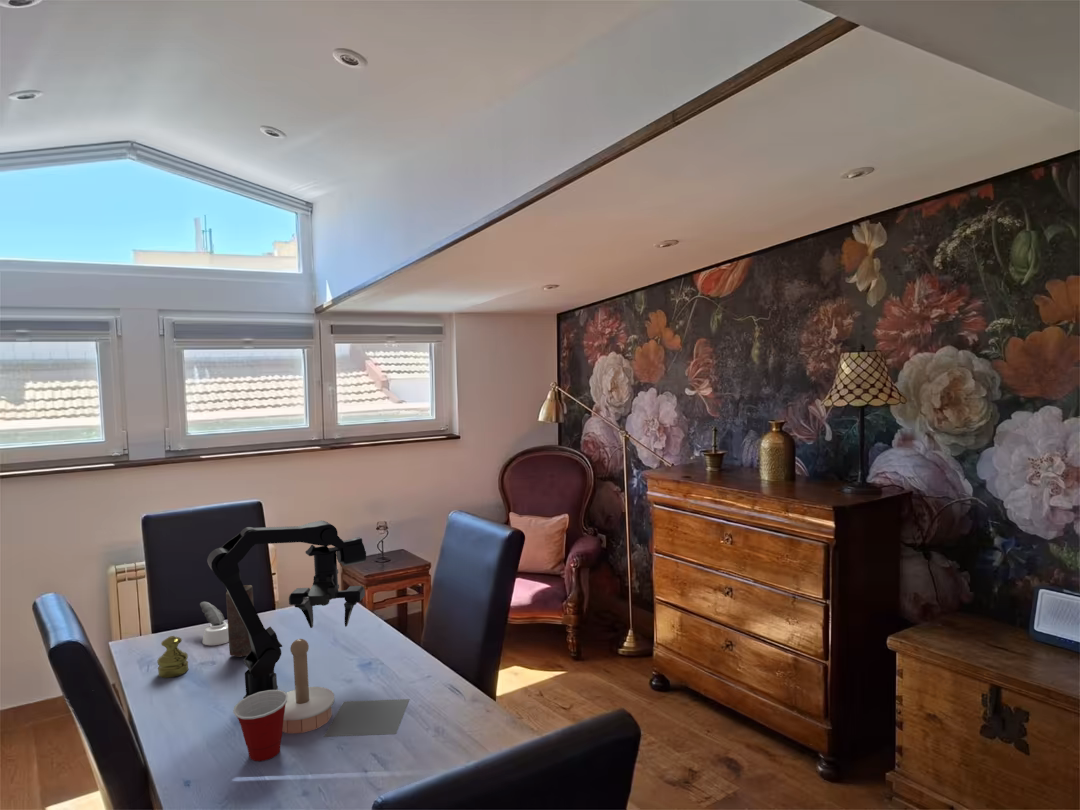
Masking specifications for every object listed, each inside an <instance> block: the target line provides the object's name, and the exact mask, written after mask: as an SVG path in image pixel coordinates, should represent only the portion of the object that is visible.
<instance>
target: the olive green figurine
mask: <svg viewBox="0 0 1080 810" xmlns="http://www.w3.org/2000/svg"><path fill="white" fill-rule="evenodd" d="M182 640H183V639H182V637H180V636H175V635H170V636H168V637H166V638H165V639H164V640H162V641H161V643H160V644H161V646H163V647H165V648H166V650H165V651H164V652H163V653H162V655H160V656H159V657H157V665H158V667H157V675H158V677H159V678H163V679H169V678H170V679H171V678H176V677H178V676H181V675H183V674H185V673H187V672H188V671H189V661H188V657H189V655H188V653H187V652H186V651H184V650H182V649H180V648H178V647H179V645H180V644H181V642H182Z"/></svg>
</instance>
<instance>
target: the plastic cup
mask: <svg viewBox="0 0 1080 810" xmlns="http://www.w3.org/2000/svg"><path fill="white" fill-rule="evenodd" d="M286 693H287V692H285V691H284V690H280V689H276V690H267V691H262V692H258V693H255V694H253V695H250V696H248V697H246V698H244V699H243V698H242V699H241V700H239V701H238V702H237V704H236V705H235V706H234V707H233V710H232V711H233V712H232V713H233V714H234V716H235V718H237V720H238V723H239V724H240V727H241V730H242V734H243V738H244V742H245V743H244V744H245V746H246V749H247V753H248V755H249V759H250V760H252V761H254V762H265V761H268V760H270V759H273V758H275V757H276V756H277V755H278V754H280V752H281V744H282V743H281V742H282V738H283V732H282V730H283V720H284V712H285V705H286V703H287V698H288V695H287V694H286Z"/></svg>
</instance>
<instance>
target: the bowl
mask: <svg viewBox="0 0 1080 810" xmlns="http://www.w3.org/2000/svg"><path fill="white" fill-rule="evenodd" d="M332 712H333V710H332V706H331V707H330V708H329V709H328V710H326V711H324V712H323V713H321V714H318V715H316V716H313V717H310V718H306V719H301V720H283V730H282V733H285V734H303V733H306V732H310V731H314V730H317V729H319V728H320V727H323V725H325V724H327V723H328V722H329V721H330V719H331V717H332V716H333V715H332V714H333V713H332Z"/></svg>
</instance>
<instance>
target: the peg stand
mask: <svg viewBox="0 0 1080 810" xmlns="http://www.w3.org/2000/svg"><path fill="white" fill-rule="evenodd" d="M289 648H290V653H291V655H292V658H293V660H292V661H293V676H294V677H293V678H294V689H293V690H290V691H287V692H285V693H286V694H287V695H288V698H287V703H286V705H285V712H284V720H301V719H306V718H310V717H313V716H316V715H318V714H321V713H323V712H324V711H326V710H328V709H329V708H330V707H331V708H332V706H333V705H334V703H335V694H334V692H333V691H332V690H331V689H329V688H327V687H321V686H310V685H309V684H310V683H309V682H310V681H309V668H308V652H309V648H310V646H309V642H308V641H307V640H306V639H304V638H297V639H295V640H294V641H293V642H292V643H291V645H290V647H289Z"/></svg>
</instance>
